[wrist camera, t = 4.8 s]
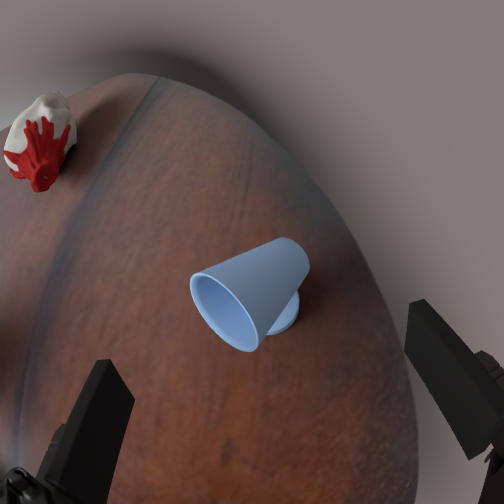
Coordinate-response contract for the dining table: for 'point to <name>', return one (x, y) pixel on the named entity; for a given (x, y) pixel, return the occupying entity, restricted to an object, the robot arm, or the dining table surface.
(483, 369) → the robot arm
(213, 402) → the dining table surface
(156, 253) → the dining table surface
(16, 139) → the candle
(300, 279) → the spotlight
